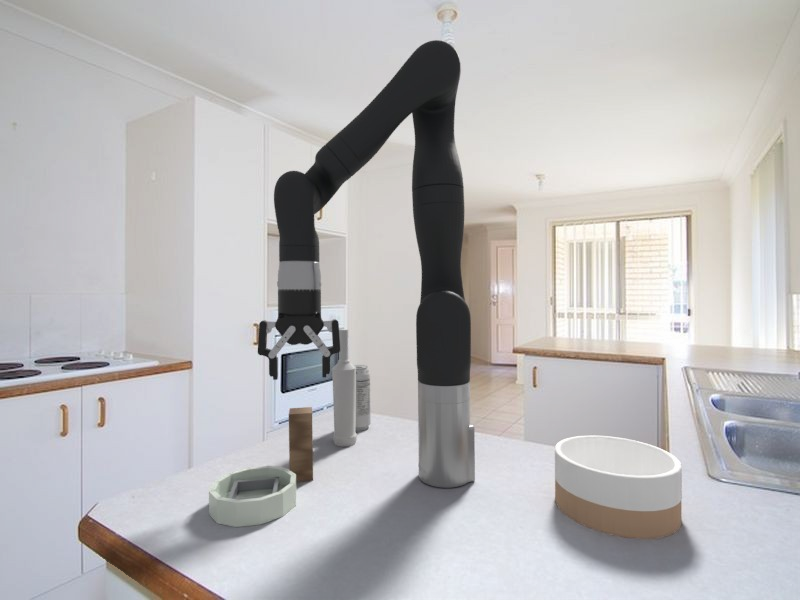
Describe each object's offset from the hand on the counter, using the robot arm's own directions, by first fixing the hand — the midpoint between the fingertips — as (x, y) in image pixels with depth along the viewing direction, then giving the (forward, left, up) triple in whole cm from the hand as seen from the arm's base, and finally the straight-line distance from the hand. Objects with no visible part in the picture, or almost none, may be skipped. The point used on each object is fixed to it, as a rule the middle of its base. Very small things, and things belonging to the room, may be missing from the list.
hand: (300, 377), depth 78 cm
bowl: (-47, +22, -18) cm, 55 cm away
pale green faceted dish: (+7, +9, -18) cm, 21 cm away
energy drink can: (-13, -26, -18) cm, 34 cm away
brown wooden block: (0, 0, -18) cm, 18 cm away
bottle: (-9, -16, -18) cm, 26 cm away
